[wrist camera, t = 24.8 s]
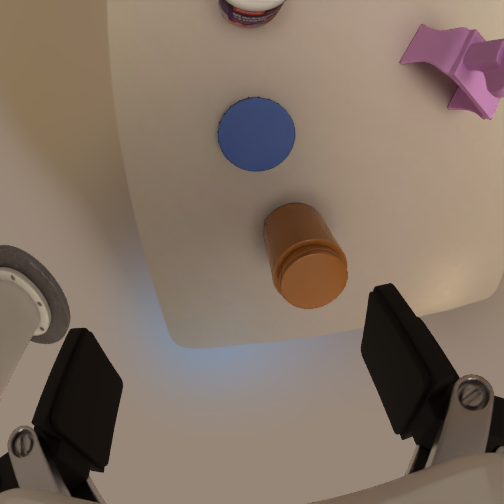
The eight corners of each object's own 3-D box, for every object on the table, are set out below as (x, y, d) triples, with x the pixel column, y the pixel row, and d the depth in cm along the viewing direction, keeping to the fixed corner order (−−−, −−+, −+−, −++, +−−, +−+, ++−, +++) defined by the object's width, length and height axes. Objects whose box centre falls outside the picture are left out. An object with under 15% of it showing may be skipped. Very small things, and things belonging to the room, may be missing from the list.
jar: (268, 262, 34) (279, 319, 26) (258, 208, 31) (269, 256, 23) (324, 252, 34) (351, 304, 26) (321, 198, 31) (352, 240, 23)
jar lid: (306, 130, 27) (311, 133, 26) (258, 181, 29) (259, 186, 28) (252, 82, 24) (253, 81, 23) (203, 137, 27) (201, 140, 25)
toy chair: (447, 118, 26) (548, 155, 13) (395, 69, 24) (502, 75, 11) (473, 69, 23) (571, 87, 10) (424, 18, 20) (526, 6, 7)
